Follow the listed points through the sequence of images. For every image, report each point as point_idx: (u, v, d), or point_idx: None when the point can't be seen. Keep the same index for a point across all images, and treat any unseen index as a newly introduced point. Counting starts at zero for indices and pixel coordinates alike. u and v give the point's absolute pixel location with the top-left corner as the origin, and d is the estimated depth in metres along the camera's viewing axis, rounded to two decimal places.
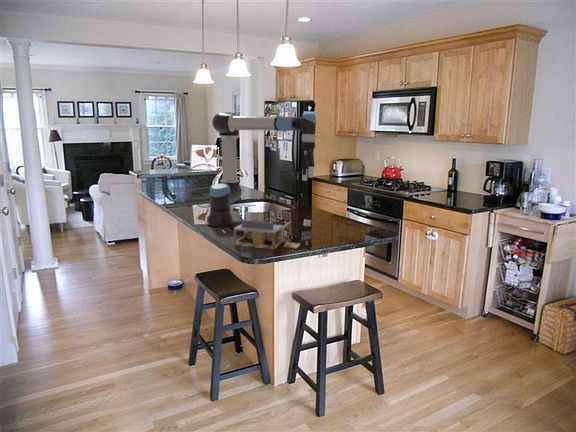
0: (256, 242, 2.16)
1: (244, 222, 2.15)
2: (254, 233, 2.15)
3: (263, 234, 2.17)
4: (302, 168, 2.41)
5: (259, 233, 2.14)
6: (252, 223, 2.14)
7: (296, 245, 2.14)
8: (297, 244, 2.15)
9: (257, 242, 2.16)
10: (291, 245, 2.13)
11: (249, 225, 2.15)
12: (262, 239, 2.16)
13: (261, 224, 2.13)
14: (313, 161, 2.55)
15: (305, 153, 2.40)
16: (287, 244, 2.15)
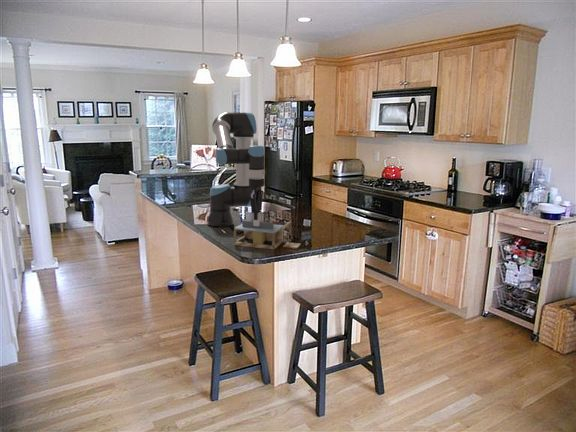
0: (256, 242, 2.16)
1: (244, 222, 2.16)
2: (254, 233, 2.15)
3: (263, 234, 2.17)
4: (253, 213, 2.11)
5: (259, 233, 2.14)
6: (252, 223, 2.14)
7: (296, 245, 2.14)
8: (297, 244, 2.15)
9: (257, 242, 2.16)
10: (291, 245, 2.13)
11: (249, 225, 2.15)
12: (262, 239, 2.16)
13: (261, 224, 2.13)
14: (261, 205, 2.14)
15: (252, 197, 2.05)
16: (287, 244, 2.15)
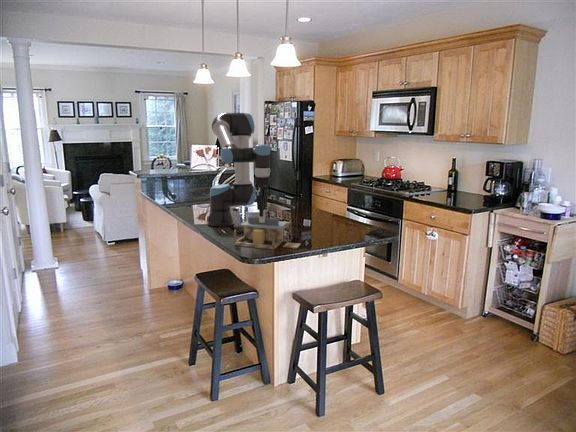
0: (256, 242, 2.16)
1: (250, 218, 2.23)
2: (254, 233, 2.15)
3: (263, 234, 2.17)
4: (259, 209, 2.18)
5: (259, 233, 2.14)
6: (258, 219, 2.22)
7: (296, 245, 2.14)
8: (297, 244, 2.15)
9: (257, 242, 2.16)
10: (291, 245, 2.13)
11: (255, 221, 2.23)
12: (262, 239, 2.16)
13: (267, 220, 2.21)
14: (266, 202, 2.21)
15: (258, 194, 2.12)
16: (287, 244, 2.15)
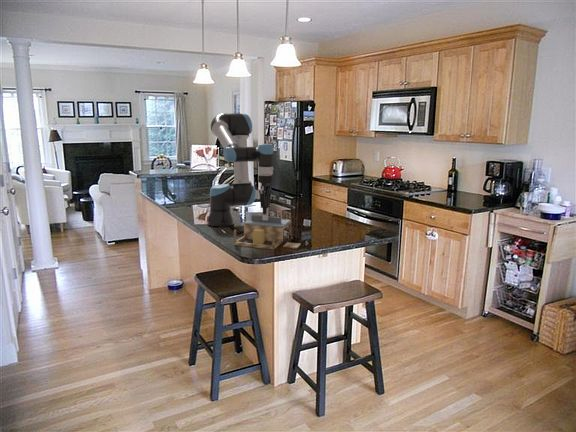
0: (256, 242, 2.16)
1: (254, 217, 2.27)
2: (254, 233, 2.15)
3: (263, 234, 2.17)
4: (262, 207, 2.23)
5: (259, 233, 2.14)
6: (261, 217, 2.26)
7: (296, 245, 2.14)
8: (297, 244, 2.15)
9: (257, 242, 2.16)
10: (291, 245, 2.13)
11: (258, 219, 2.27)
12: (262, 239, 2.16)
13: (270, 218, 2.25)
14: (269, 200, 2.25)
15: (261, 193, 2.16)
16: (287, 244, 2.15)
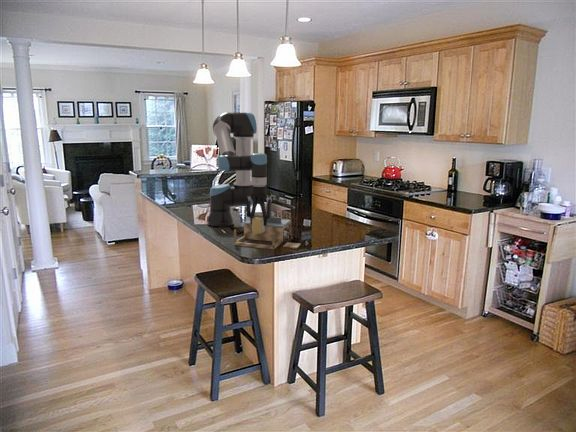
0: (256, 230, 2.15)
1: (254, 217, 2.27)
2: (254, 221, 2.14)
3: None
4: None
5: (259, 221, 2.14)
6: (261, 217, 2.26)
7: (296, 245, 2.14)
8: (297, 244, 2.15)
9: (257, 230, 2.15)
10: (291, 245, 2.13)
11: None
12: None
13: (270, 218, 2.25)
14: (267, 213, 2.13)
15: None
16: (287, 244, 2.15)
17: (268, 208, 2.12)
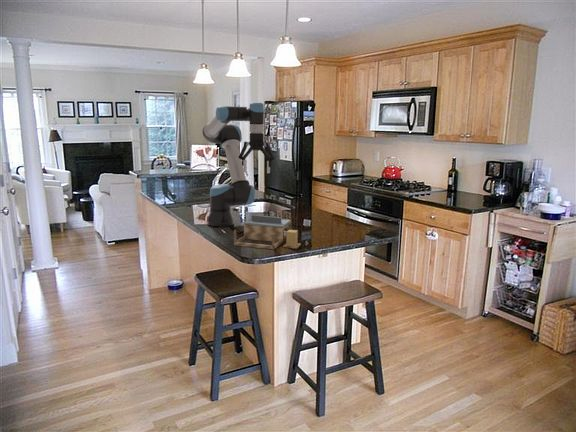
0: (289, 243, 2.12)
1: (254, 217, 2.27)
2: (288, 234, 2.12)
3: (296, 235, 2.14)
4: None
5: (293, 234, 2.11)
6: (261, 217, 2.26)
7: (296, 245, 2.14)
8: (297, 244, 2.15)
9: (291, 243, 2.12)
10: None
11: (258, 219, 2.27)
12: (296, 240, 2.13)
13: (270, 218, 2.25)
14: (270, 155, 2.30)
15: None
16: None
17: (269, 150, 2.30)
